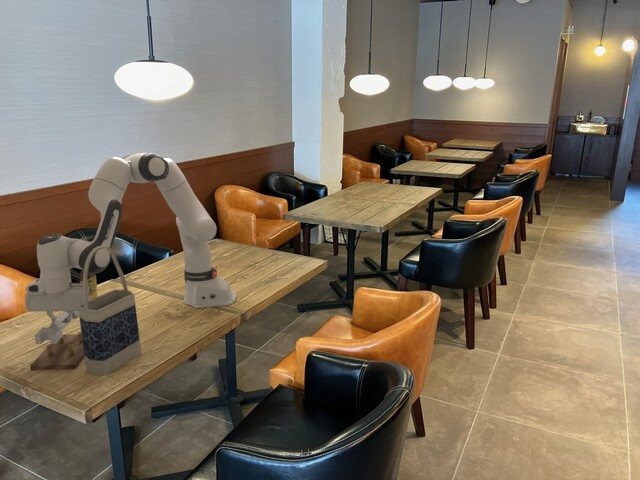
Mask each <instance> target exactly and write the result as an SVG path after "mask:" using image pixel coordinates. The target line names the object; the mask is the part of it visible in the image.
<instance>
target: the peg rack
mask: <svg viewBox="0 0 640 480" xmlns="http://www.w3.org/2000/svg"><path fill="white" fill-rule="evenodd" d="M83 359H85V356H84V348H83V341H82V333H81V331H80V332H78V333H77V334H75V333H74V334H73V333H72V334H63V336H62V337H61V339H60V340H59V341H58V342H57V343H56V344H51V343H49V344H48V345H46V348H45V349H44V350H43V351H42V352H41V354H40V355H38V357H37V358H36V359H35V360H34V361H33V362H32V363H31V365H29V366H30V371H38V370H39V371H42V370H43V371H45V370H65V369H66V370H69V369H70V370H71V369H72V370H73V369H77V368H78V367H79V365H80V363H82V362H83Z"/></svg>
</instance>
